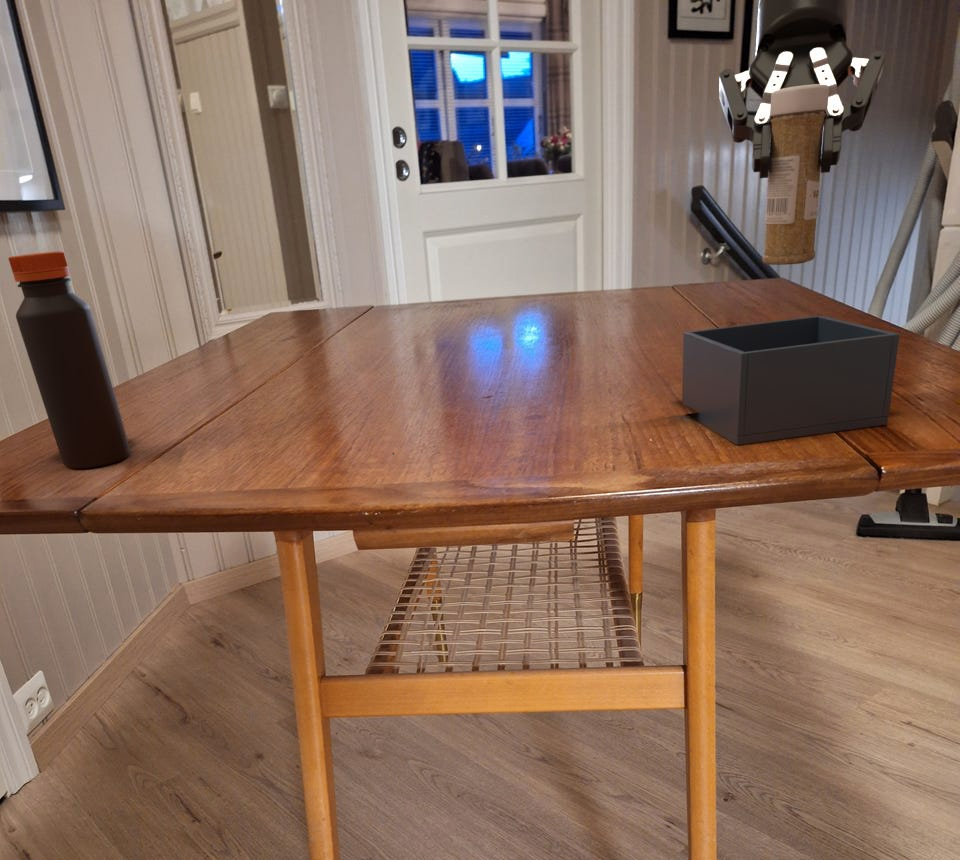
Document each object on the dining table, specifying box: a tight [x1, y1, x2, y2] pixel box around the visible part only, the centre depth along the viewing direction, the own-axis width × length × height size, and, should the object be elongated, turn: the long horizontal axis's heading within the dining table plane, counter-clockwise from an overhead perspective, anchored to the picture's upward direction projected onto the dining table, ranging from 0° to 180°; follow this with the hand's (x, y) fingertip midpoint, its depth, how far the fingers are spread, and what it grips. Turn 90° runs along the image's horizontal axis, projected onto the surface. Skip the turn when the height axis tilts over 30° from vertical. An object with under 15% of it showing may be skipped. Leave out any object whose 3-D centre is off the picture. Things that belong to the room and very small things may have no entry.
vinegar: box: [7, 250, 131, 470], centre depth 87 cm, size 7×7×20 cm
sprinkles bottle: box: [762, 84, 829, 266], centre depth 75 cm, size 5×5×13 cm
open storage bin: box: [681, 315, 900, 446], centre depth 81 cm, size 14×13×8 cm
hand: (795, 167), depth 73 cm, fingers closed on sprinkles bottle, 4 cm apart
